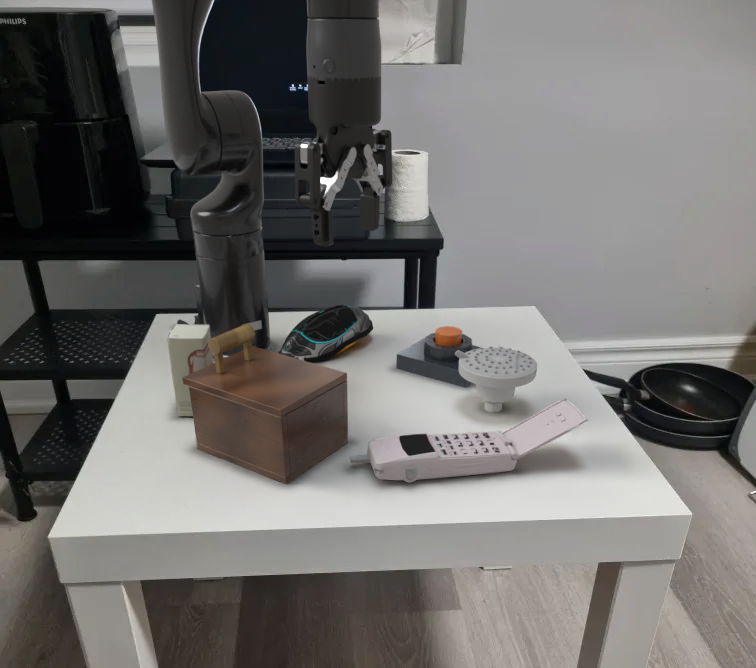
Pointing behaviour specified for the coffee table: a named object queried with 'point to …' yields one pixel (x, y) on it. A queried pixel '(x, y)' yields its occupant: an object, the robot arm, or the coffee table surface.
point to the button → (448, 336)
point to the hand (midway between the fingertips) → (347, 237)
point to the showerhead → (496, 373)
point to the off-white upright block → (187, 359)
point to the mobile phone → (468, 447)
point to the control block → (435, 360)
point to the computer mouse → (327, 333)
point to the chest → (271, 432)
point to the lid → (261, 375)
